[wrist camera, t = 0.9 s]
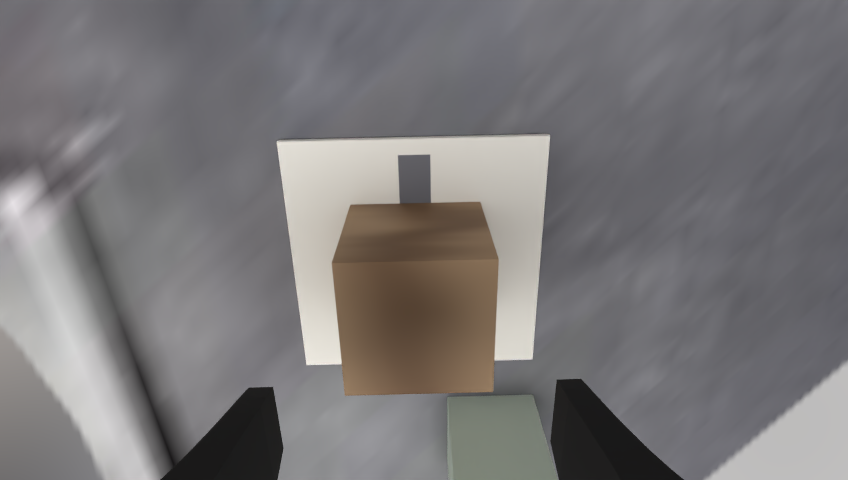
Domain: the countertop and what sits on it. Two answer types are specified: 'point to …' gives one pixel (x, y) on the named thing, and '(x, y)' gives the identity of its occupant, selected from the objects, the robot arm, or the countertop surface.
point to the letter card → (416, 183)
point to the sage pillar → (496, 439)
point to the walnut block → (416, 299)
